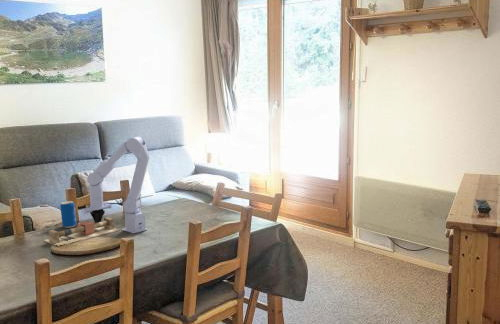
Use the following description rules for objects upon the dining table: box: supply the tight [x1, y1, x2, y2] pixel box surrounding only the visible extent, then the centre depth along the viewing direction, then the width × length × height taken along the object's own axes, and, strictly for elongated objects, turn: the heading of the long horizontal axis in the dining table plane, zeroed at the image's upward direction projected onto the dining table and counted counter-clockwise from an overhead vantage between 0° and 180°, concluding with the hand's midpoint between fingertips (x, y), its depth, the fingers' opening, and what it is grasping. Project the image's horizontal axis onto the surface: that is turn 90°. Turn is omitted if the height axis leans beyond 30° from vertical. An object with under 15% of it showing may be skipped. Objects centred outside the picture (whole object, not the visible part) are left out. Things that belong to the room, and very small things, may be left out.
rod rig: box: [43, 216, 120, 245], centre depth 224 cm, size 30×12×5 cm, turn 140°
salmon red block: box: [77, 220, 95, 235], centre depth 226 cm, size 4×7×5 cm, turn 50°
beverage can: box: [59, 200, 78, 229], centre depth 238 cm, size 6×6×12 cm
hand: (97, 225), depth 233 cm, fingers closed
